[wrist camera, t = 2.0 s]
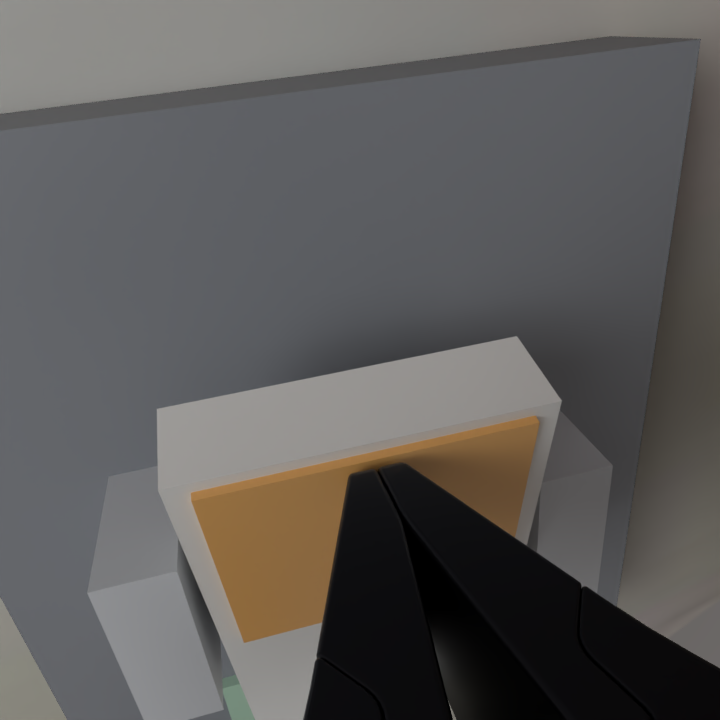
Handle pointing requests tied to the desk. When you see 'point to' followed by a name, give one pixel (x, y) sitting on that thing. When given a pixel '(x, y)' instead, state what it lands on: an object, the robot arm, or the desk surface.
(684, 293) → the desk surface
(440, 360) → the block
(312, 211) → the box
